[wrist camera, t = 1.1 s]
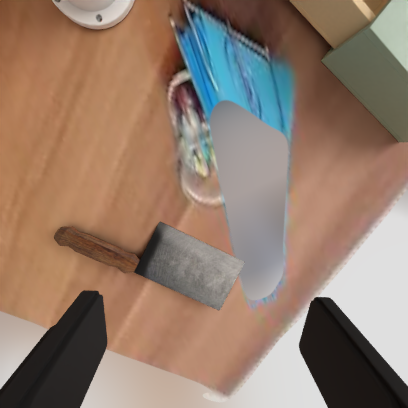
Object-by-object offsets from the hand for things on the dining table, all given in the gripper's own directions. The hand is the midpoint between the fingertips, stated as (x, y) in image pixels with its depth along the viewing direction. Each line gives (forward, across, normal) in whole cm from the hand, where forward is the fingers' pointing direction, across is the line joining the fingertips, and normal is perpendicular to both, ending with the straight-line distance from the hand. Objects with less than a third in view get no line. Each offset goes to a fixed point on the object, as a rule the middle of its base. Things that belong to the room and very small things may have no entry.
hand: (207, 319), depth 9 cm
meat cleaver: (+27, +8, +13) cm, 31 cm away
